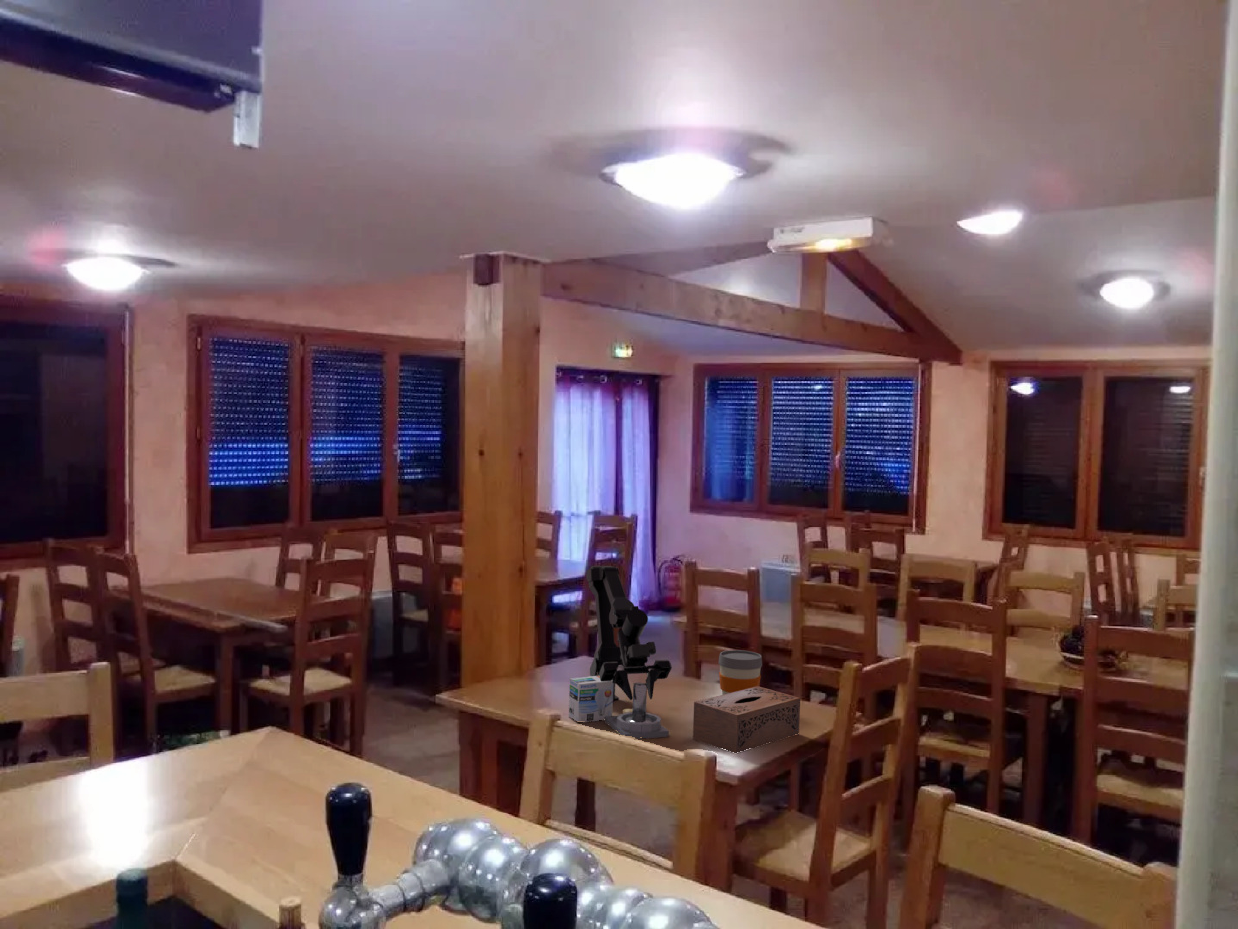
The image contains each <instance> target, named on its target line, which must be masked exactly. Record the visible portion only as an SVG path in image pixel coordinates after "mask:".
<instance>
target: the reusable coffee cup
mask: <svg viewBox="0 0 1238 929" xmlns="http://www.w3.org/2000/svg"><path fill="white" fill-rule="evenodd" d="M718 657H719V658H718V665H719V672H718V675H719V676H718V677H719V688H720V689H721V695H724V694H728V693H732V692H736V691H740V690H744V689H748V688H752V687H756V686H759V687H760V682H761V677H762V676H761V668H762V667H763V659H762V657H763V656H762V654H760V653H757V652H755V651H751V650H744V649H743V650H740V649H730V650H724V651H721V652H720V653H719V656H718Z"/></svg>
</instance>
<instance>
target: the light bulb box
mask: <svg viewBox="0 0 1238 929" xmlns="http://www.w3.org/2000/svg"><path fill="white" fill-rule="evenodd" d="M612 681H613V680H612ZM612 681H600V676H590V675H589V676H583V677H571V678H569V695H568V696H569V697H568V698H569V700H568V717H569V718H571V719H572V718H573V719H574V720H573V719H572V720H573V721H575V720H576V721H585V722H584V723H590V722H591V721H592V722H600V721H599V720H602V721H604V719H605V716H613V705H614V700H613V685H614V683H613V682H612ZM576 721H575V722H576ZM589 721H590V722H589ZM592 722H591V723H592Z"/></svg>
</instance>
